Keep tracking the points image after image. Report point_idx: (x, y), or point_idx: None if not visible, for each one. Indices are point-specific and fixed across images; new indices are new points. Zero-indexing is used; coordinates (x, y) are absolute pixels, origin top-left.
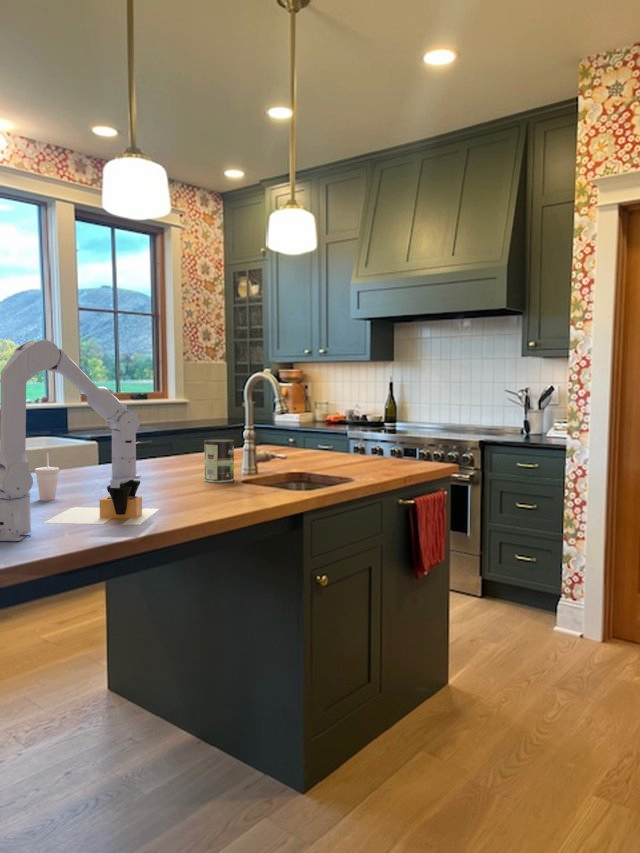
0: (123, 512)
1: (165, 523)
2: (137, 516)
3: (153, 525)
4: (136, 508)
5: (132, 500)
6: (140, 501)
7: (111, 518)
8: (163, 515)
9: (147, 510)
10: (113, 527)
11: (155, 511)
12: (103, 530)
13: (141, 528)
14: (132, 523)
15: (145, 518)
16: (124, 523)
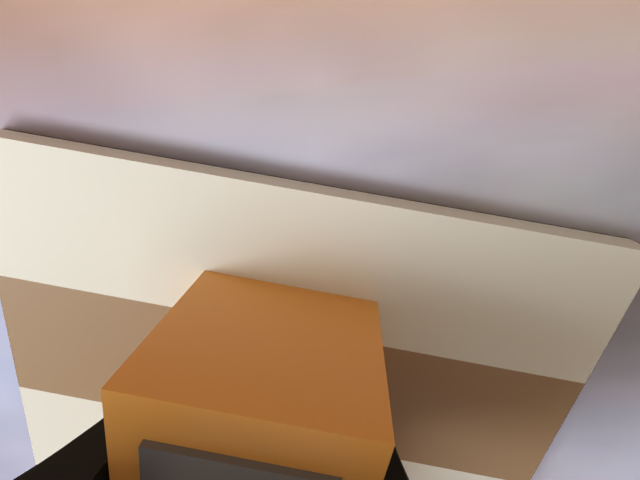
0: None
1: (463, 14)
2: (340, 299)
3: (524, 134)
4: (374, 356)
5: (383, 476)
6: (204, 361)
7: None
8: (107, 78)
9: (65, 237)
10: None
11: (92, 161)
12: (579, 450)
13: (612, 228)
14: (581, 315)
15: (398, 227)
16: (561, 369)
